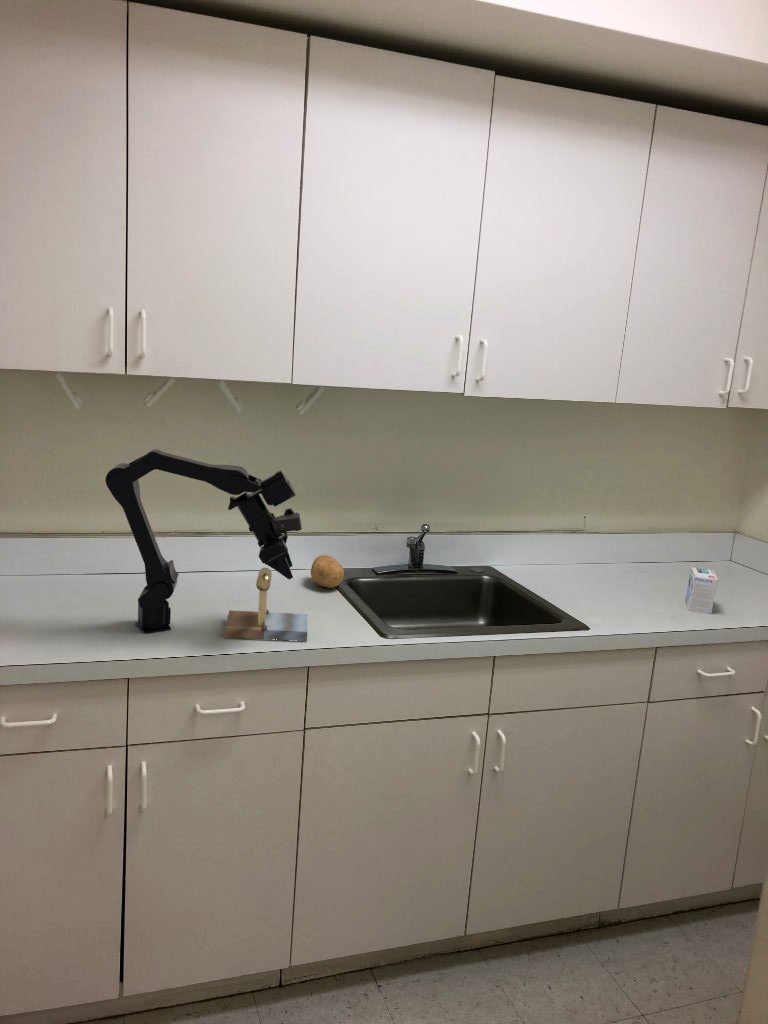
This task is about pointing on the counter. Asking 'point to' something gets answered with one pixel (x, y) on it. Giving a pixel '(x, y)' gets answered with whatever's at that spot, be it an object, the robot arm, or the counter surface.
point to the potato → (327, 571)
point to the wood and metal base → (266, 626)
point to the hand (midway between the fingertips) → (290, 572)
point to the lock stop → (263, 593)
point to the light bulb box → (701, 590)
